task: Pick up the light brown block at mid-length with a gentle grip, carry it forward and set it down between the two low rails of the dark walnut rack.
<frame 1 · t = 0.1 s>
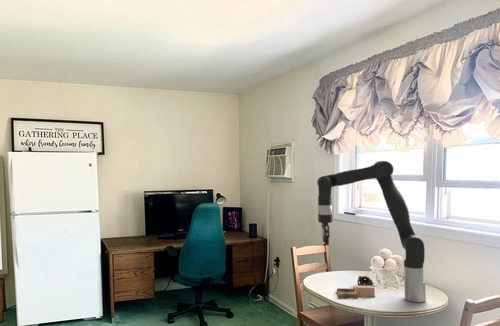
hand: (325, 243, 191), 29 cm above the table, fingers open, 8 cm apart
dark brown rounded lump: (365, 289, 204), on the table
light brown block: (365, 295, 193), on the table
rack: (347, 295, 194), on the table
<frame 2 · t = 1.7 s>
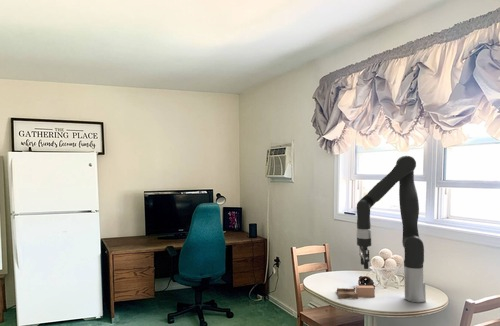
hand: (364, 266, 193), 16 cm above the table, fingers open, 8 cm apart
nothing on the table moved.
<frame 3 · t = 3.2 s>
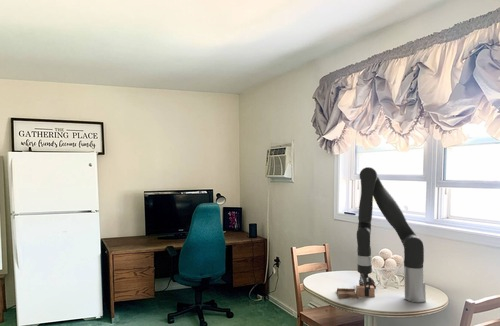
hand: (365, 293, 193), 1 cm above the table, fingers open, 8 cm apart
dark brown rounded lump: (366, 289, 204), on the table, touching gripper
everything else where it was.
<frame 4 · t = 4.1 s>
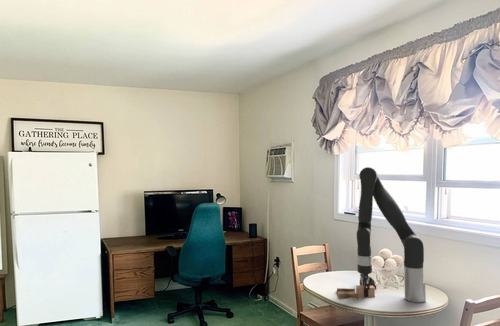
hand: (365, 295, 193), 0 cm above the table, fingers closed on light brown block, 3 cm apart
dark brown rounded lump: (367, 289, 204), on the table
light brown block: (365, 295, 193), on the table, touching gripper
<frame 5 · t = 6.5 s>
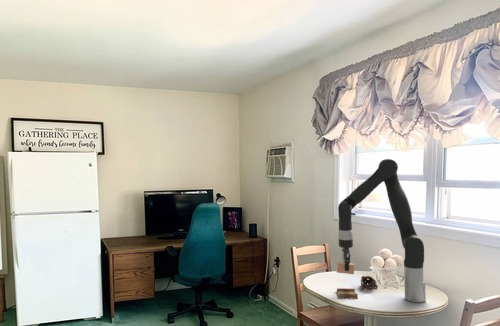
hand: (346, 269, 194), 14 cm above the table, fingers closed on light brown block, 3 cm apart
light brown block: (344, 272, 195), point 12 cm above the table, tilted 6°, touching gripper
everything else where it was.
when the fingers open (4 cm above the table, at t = 8.9 s): light brown block drops 1 cm, resting on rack.
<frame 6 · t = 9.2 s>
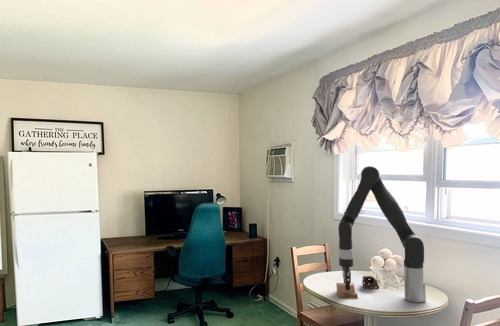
hand: (346, 287, 194), 4 cm above the table, fingers open, 5 cm apart
light brown block: (345, 293, 194), point 1 cm above the table, touching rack
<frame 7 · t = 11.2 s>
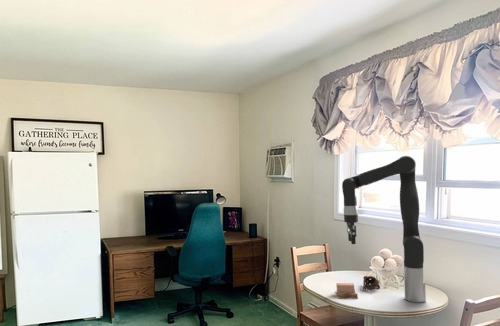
hand: (352, 242, 200), 28 cm above the table, fingers open, 8 cm apart
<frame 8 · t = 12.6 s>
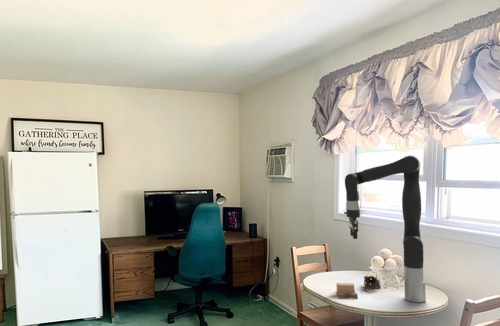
hand: (353, 237, 202), 30 cm above the table, fingers open, 8 cm apart
at the end: light brown block inside the target area on the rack (0.8 cm from its centre), point 1.0 cm above the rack's base; light brown block tilted 0°; the gripper is holding nothing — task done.
